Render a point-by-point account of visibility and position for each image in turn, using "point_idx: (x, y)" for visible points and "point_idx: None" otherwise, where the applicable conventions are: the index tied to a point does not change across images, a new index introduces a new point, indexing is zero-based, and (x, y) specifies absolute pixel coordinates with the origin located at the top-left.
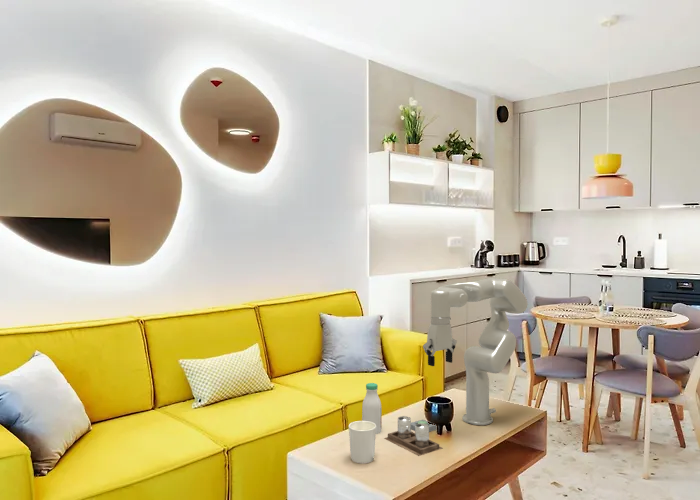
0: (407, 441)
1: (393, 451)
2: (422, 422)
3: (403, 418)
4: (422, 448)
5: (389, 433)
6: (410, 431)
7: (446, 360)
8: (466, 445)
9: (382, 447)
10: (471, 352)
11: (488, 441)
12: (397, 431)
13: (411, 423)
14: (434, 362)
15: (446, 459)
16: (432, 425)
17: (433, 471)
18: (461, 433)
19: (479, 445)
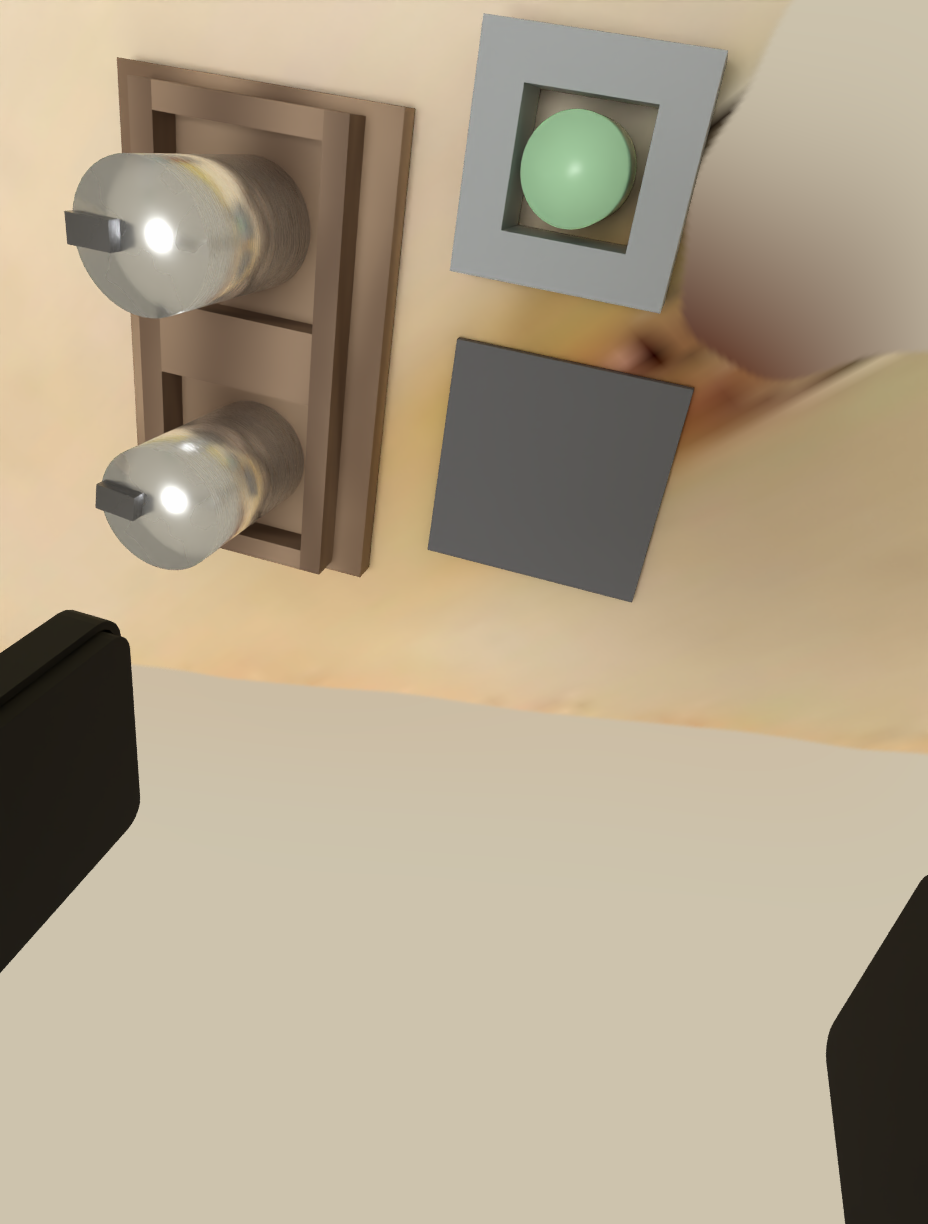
0: (166, 353)
1: (90, 290)
2: (569, 175)
3: (113, 252)
4: None
5: (144, 84)
6: (245, 294)
7: (916, 926)
8: (580, 642)
9: (59, 161)
10: None
11: (767, 732)
12: (238, 105)
13: (508, 47)
14: (70, 886)
15: (291, 640)
16: (621, 286)
17: None
18: (801, 497)
19: (646, 710)
